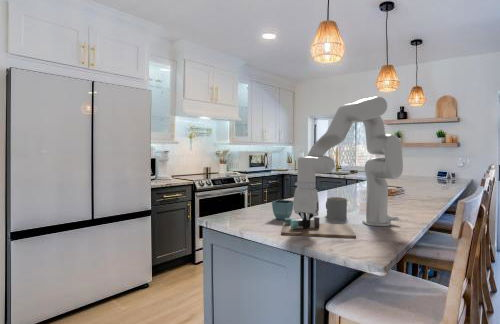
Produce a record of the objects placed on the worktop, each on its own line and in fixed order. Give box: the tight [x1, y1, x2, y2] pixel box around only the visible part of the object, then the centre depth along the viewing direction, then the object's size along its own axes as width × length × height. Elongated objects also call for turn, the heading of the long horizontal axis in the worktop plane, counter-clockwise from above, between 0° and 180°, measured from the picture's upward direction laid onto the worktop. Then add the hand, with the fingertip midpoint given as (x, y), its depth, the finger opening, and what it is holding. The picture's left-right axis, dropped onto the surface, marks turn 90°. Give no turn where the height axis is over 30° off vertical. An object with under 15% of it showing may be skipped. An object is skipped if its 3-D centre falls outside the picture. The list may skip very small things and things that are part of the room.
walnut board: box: [280, 216, 357, 239], centre depth 138 cm, size 30×18×5 cm, turn 81°
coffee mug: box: [325, 196, 348, 221], centre depth 166 cm, size 13×10×10 cm
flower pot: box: [271, 199, 294, 221], centre depth 161 cm, size 9×9×9 cm
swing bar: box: [291, 217, 315, 229], centre depth 138 cm, size 10×2×4 cm, turn 108°
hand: (306, 228), depth 135 cm, fingers closed
